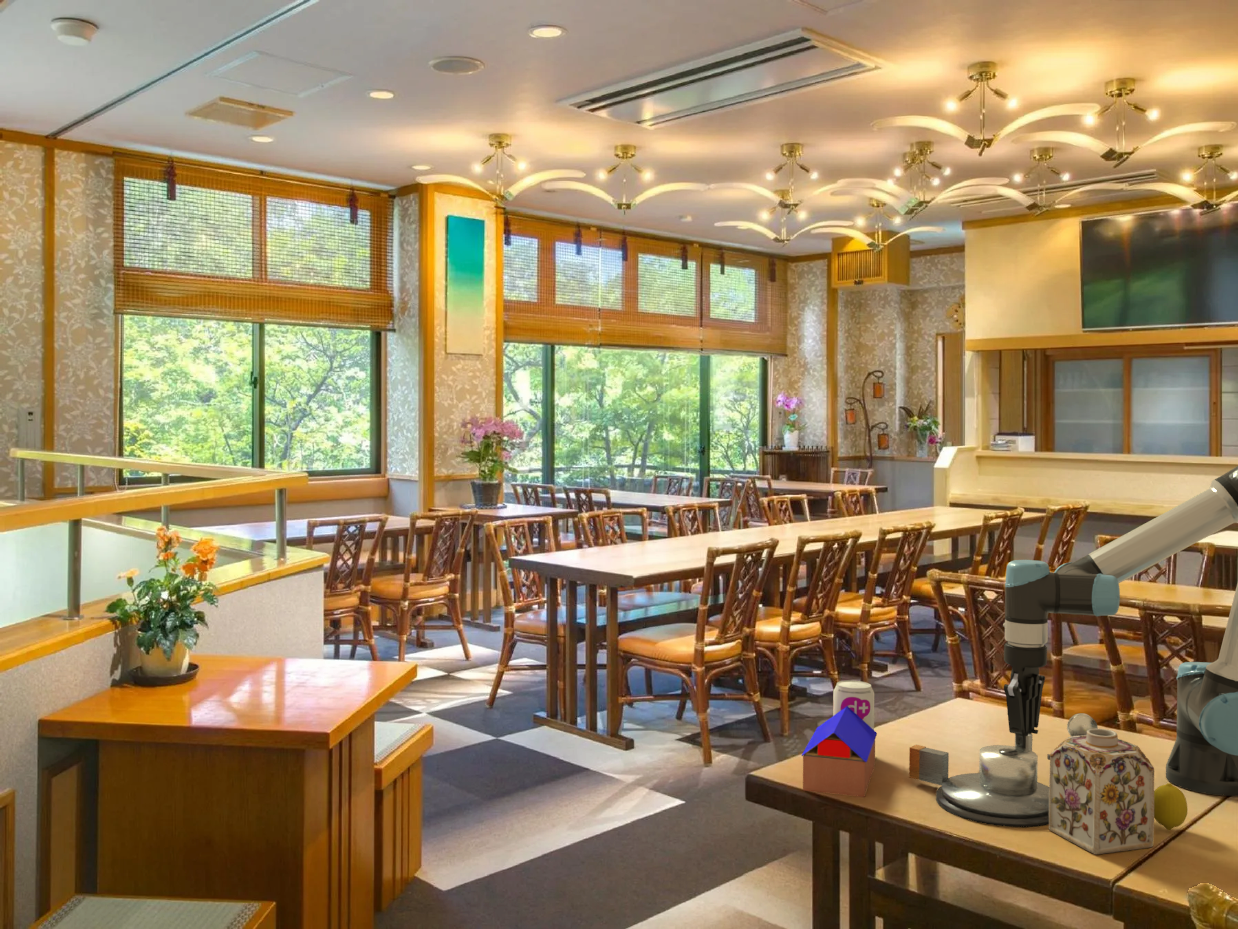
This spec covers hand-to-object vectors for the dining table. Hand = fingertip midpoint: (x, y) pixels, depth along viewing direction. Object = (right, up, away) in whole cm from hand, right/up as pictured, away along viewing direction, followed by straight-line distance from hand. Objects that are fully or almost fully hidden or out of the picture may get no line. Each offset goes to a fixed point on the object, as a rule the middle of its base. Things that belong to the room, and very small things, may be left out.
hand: (1023, 767), depth 202 cm
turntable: (-10, -3, -6) cm, 12 cm away
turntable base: (-7, -4, -8) cm, 12 cm away
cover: (-5, -2, -5) cm, 7 cm away
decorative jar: (+4, -5, -24) cm, 25 cm away
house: (-33, -4, +7) cm, 34 cm away
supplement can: (-28, -4, +20) cm, 34 cm away
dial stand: (+7, -4, -6) cm, 10 cm away
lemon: (+17, -5, -20) cm, 27 cm away
